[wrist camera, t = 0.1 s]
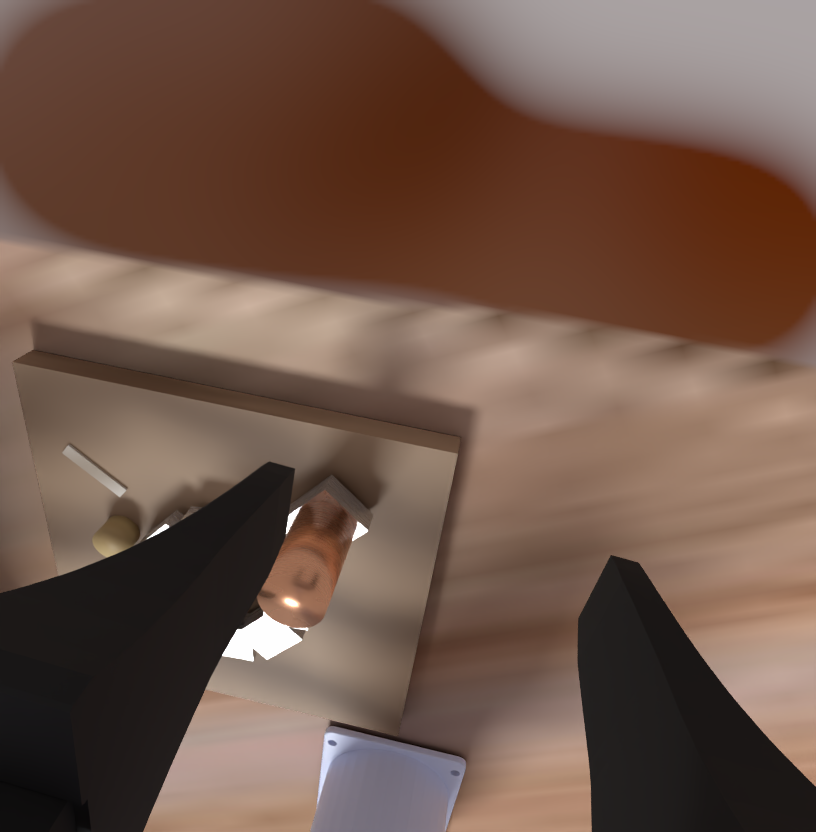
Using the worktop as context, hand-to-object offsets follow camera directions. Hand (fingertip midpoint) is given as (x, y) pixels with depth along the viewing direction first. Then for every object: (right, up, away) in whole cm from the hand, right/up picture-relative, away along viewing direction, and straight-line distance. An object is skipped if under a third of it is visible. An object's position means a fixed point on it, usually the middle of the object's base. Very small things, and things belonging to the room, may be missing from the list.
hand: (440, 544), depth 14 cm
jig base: (-9, -4, +16) cm, 18 cm away
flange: (-7, -3, +13) cm, 16 cm away
